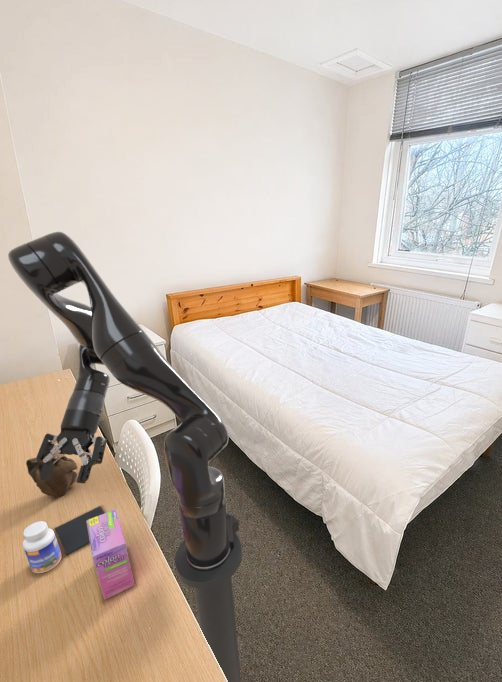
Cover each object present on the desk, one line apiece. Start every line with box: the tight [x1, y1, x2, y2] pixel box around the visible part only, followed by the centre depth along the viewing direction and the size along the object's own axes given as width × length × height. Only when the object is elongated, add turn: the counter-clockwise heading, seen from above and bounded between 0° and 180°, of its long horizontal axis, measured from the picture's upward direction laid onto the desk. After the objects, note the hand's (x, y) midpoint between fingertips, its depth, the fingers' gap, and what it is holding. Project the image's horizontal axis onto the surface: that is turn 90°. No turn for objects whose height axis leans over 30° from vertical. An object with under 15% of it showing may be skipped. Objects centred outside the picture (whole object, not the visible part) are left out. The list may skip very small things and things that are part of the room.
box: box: [87, 509, 135, 601], centre depth 71 cm, size 10×6×12 cm, turn 34°
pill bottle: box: [22, 520, 62, 574], centre depth 73 cm, size 5×5×10 cm
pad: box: [54, 506, 106, 556], centre depth 83 cm, size 10×10×1 cm
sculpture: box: [25, 444, 78, 498], centre depth 91 cm, size 11×11×15 cm
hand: (62, 481), depth 79 cm, fingers open, 8 cm apart
